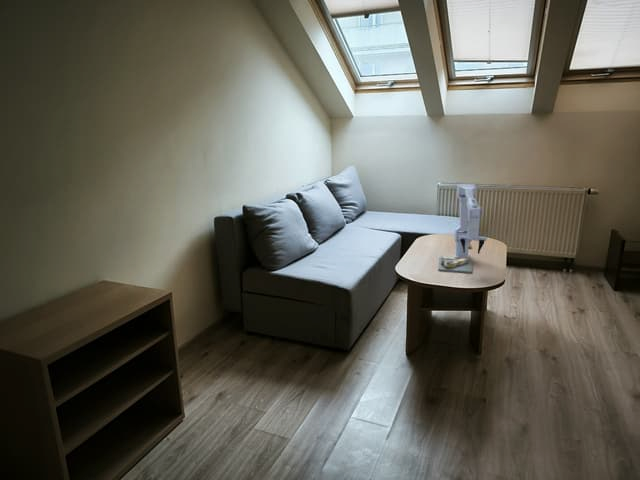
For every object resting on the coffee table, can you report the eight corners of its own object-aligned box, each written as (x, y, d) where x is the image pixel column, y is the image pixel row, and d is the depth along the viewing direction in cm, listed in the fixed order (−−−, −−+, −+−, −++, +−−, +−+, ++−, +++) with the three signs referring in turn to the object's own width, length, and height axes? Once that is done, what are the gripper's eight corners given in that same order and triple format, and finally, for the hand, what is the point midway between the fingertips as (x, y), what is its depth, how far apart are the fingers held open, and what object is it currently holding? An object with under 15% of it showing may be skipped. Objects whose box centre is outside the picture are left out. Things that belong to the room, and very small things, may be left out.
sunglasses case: (473, 249, 287) (468, 240, 286) (463, 254, 289) (458, 245, 288) (469, 241, 304) (464, 233, 303) (459, 246, 306) (455, 237, 305)
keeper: (440, 263, 258) (441, 256, 257) (452, 264, 257) (452, 257, 256) (440, 264, 256) (440, 257, 255) (452, 265, 254) (452, 258, 253)
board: (439, 259, 269) (439, 257, 269) (470, 261, 264) (470, 259, 264) (438, 270, 249) (438, 269, 249) (472, 273, 245) (472, 271, 244)
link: (448, 268, 249) (448, 263, 248) (443, 266, 252) (443, 262, 251) (468, 262, 259) (469, 257, 258) (463, 260, 262) (464, 256, 261)
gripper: (459, 230, 243) (457, 253, 247) (487, 231, 239) (485, 255, 243) (459, 226, 250) (457, 250, 254) (487, 228, 246) (484, 251, 250)
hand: (471, 252), depth 249 cm, fingers open, 7 cm apart
